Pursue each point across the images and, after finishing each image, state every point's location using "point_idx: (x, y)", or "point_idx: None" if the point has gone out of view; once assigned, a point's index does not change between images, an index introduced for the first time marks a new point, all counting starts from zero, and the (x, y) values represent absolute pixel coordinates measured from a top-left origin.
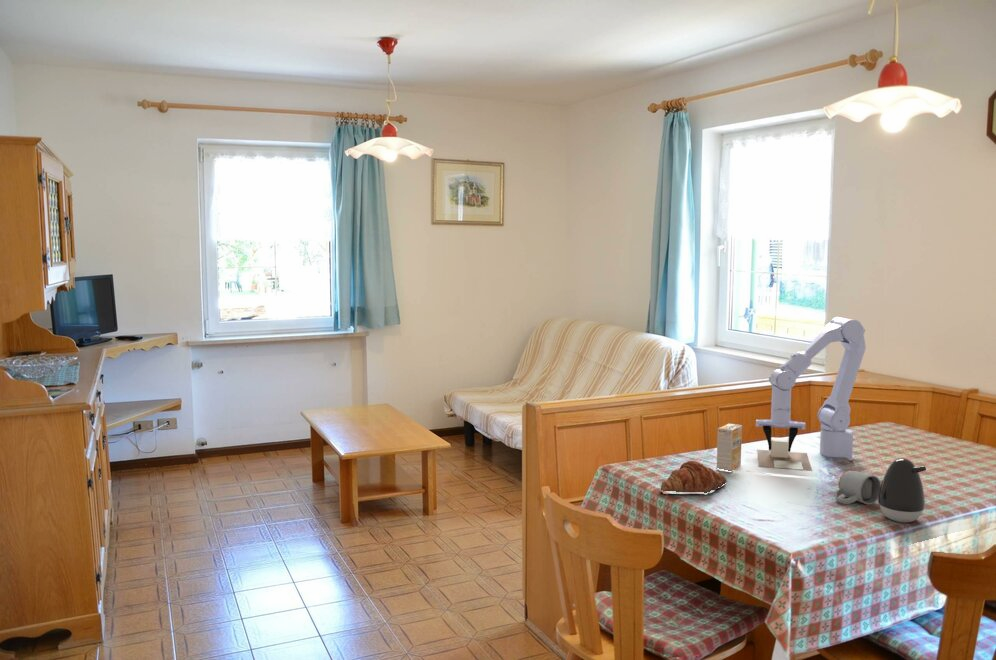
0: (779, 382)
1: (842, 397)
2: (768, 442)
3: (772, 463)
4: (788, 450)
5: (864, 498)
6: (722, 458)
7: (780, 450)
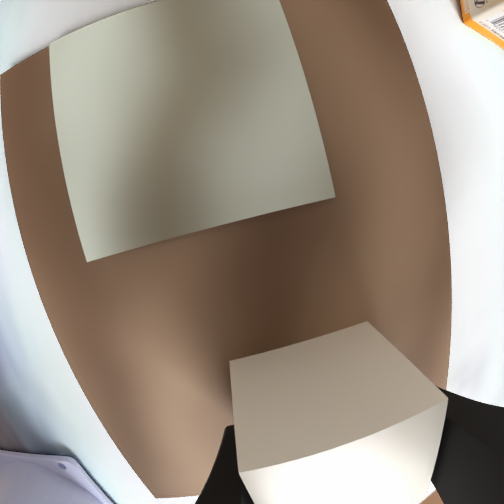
0: None
1: None
2: (454, 396)
3: (320, 96)
4: None
5: None
6: None
7: (312, 377)
